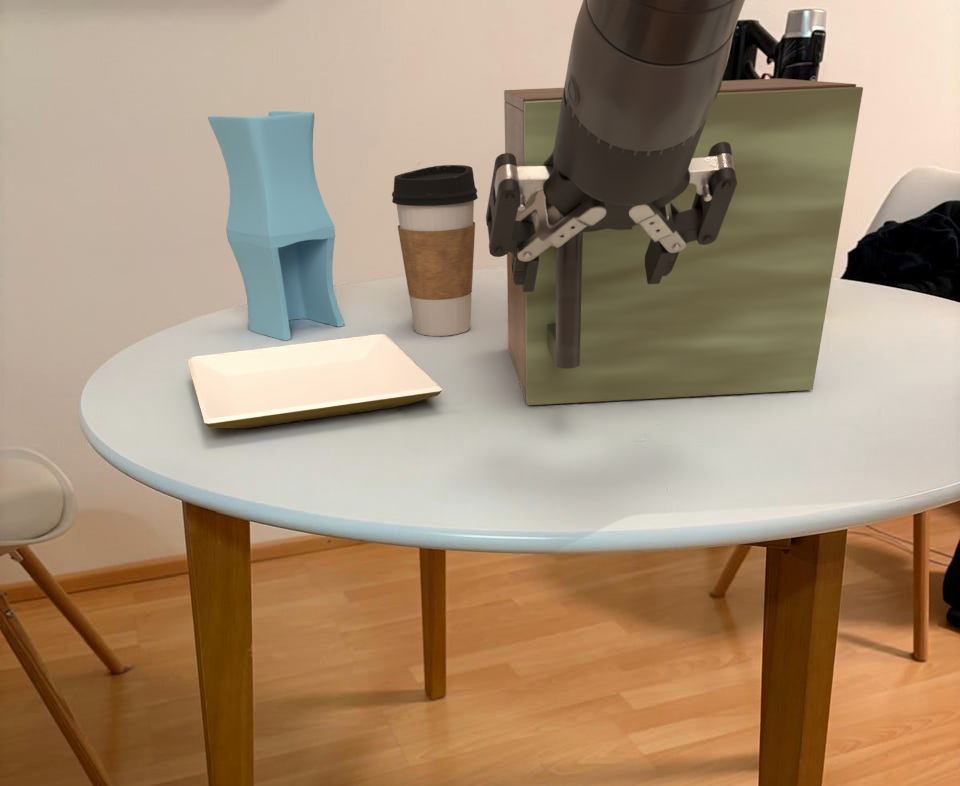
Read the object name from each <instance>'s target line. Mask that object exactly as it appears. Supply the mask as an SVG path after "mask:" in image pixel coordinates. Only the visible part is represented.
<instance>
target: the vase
mask: <svg viewBox="0 0 960 786" xmlns="http://www.w3.org/2000/svg"><path fill="white" fill-rule="evenodd" d="M207 120H208V122H209V125H210V127H211V129H212V131H213V134H214V136H215V138H216V141H217V143H218V146H219V148H220V151H221V154H222V157H223V160H224V163H225V167H226V172H227V177H228V183H229V207H228V214H227V221H226V229H225V232H226V239H227V242H228V244H229V246H230V248H231V251H232V253H233V256H234V258H235V260H236V264H237V265H238V269H239V272H240V274H241V277H242V281H243V285H244V289H245V295H246V303H247V312H248V313H247V315H248V318H247V319H248V320H247V327H248V328H247V329H248V330H249V331H250V332H254V333H257V334H259V335H264V336H267V337H271V338H274V339H277V340H281V341H284V342H285V341H289V340H292V336H291V329H290V321H294V320H310V321H314V322H319V323H322V324H326V325H329V326H334V327H338V328H339V327H343V326H346V324H345V321H344V318H343V316H342V313H341V310H340V307H339V304H338V300H337V297H336V292H335V287H334V278H333V277H334V276H333V261H334V260H333V259H334V251H335V250H334V249H335V241H336V231H335V225H334V222H333V220H332V218H331V216H330V214H329V212H328V209H327V208H326V205H325V203H324V201H323V198H322V194H321V191H320V189H319V186H318V182H317V181H318V180H317V177H316V173H315V164H314V127H315V112H314V111H289V110H288V111H287V110H284V111H283V110H273V111H271V110H270V111H268V115H266V116H265V115H263V116H221V115H219V116H218V115H211V116H207Z"/></svg>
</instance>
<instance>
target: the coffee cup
mask: <svg viewBox="0 0 960 786" xmlns="http://www.w3.org/2000/svg"><path fill="white" fill-rule="evenodd" d="M475 183H476V182H475V177H474V170H473V167H472V166H470V165H466V164H465V165H464V164H443V165H442V164H441V165H433V166H428V167H424V168H419V169H415V170H412V171H408V172H404V173H400V174H397V175H394V177H393V191H392V193H391V197H392V200H391V202H392V203H393V204H395V205H396V210H397V217H398V225H397V230H398V231H397V232H398V237H399V244H400V248H401V249H400V250H401V256H402V261H403V269H404V273H405V280H406V286H407V290H408V291H407V292H408V296H409V302H410V303H409V304H410V308H411V315H412V316H411V317H412V324H413V328H414V329H413V331H414V332H415V333H417V334H419V335H423V336H427V337H447V336H448V337H449V336H454V335H456V336H457V335H461V334H463V333H466V332H468V331H469V330H470V329H471V321H472V318H471V317H472V292H473V274H474V257H475V256H474V255H475V235H476V222H475V221H474V207H475V201H476V200H478V199H479V197H478V194H477V193H478V189H477V188H476V185H475Z"/></svg>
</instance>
